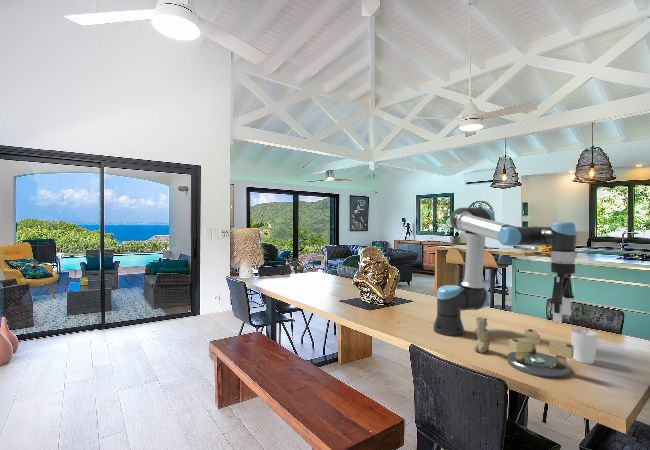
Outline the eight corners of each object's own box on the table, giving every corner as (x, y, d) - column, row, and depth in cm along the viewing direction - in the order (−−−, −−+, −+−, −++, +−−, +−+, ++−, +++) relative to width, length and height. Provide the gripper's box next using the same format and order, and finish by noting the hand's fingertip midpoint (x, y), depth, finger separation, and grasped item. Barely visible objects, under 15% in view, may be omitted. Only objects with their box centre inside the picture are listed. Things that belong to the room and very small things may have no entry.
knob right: (548, 365, 132) (549, 342, 132) (551, 362, 135) (552, 339, 135) (570, 371, 127) (571, 347, 127) (573, 368, 130) (573, 344, 130)
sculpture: (471, 350, 153) (471, 317, 152) (480, 347, 156) (481, 314, 156) (483, 355, 148) (483, 320, 147) (492, 351, 152) (493, 317, 151)
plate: (513, 373, 130) (513, 365, 130) (502, 352, 150) (503, 346, 150) (578, 381, 124) (578, 373, 124) (558, 359, 144) (558, 352, 144)
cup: (564, 356, 146) (565, 328, 146) (584, 356, 147) (585, 328, 147) (582, 365, 137) (583, 336, 137) (603, 365, 138) (603, 335, 138)
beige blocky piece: (539, 356, 141) (540, 334, 140) (528, 355, 142) (529, 333, 142) (534, 350, 147) (535, 329, 147) (524, 349, 148) (524, 328, 148)
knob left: (523, 359, 138) (524, 337, 138) (531, 363, 134) (532, 340, 134) (508, 360, 136) (509, 338, 136) (516, 364, 132) (516, 341, 132)
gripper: (566, 266, 119) (565, 326, 120) (582, 260, 136) (581, 313, 137) (541, 264, 125) (541, 322, 125) (559, 259, 142) (559, 310, 142)
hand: (562, 317), depth 131 cm, fingers open, 13 cm apart
